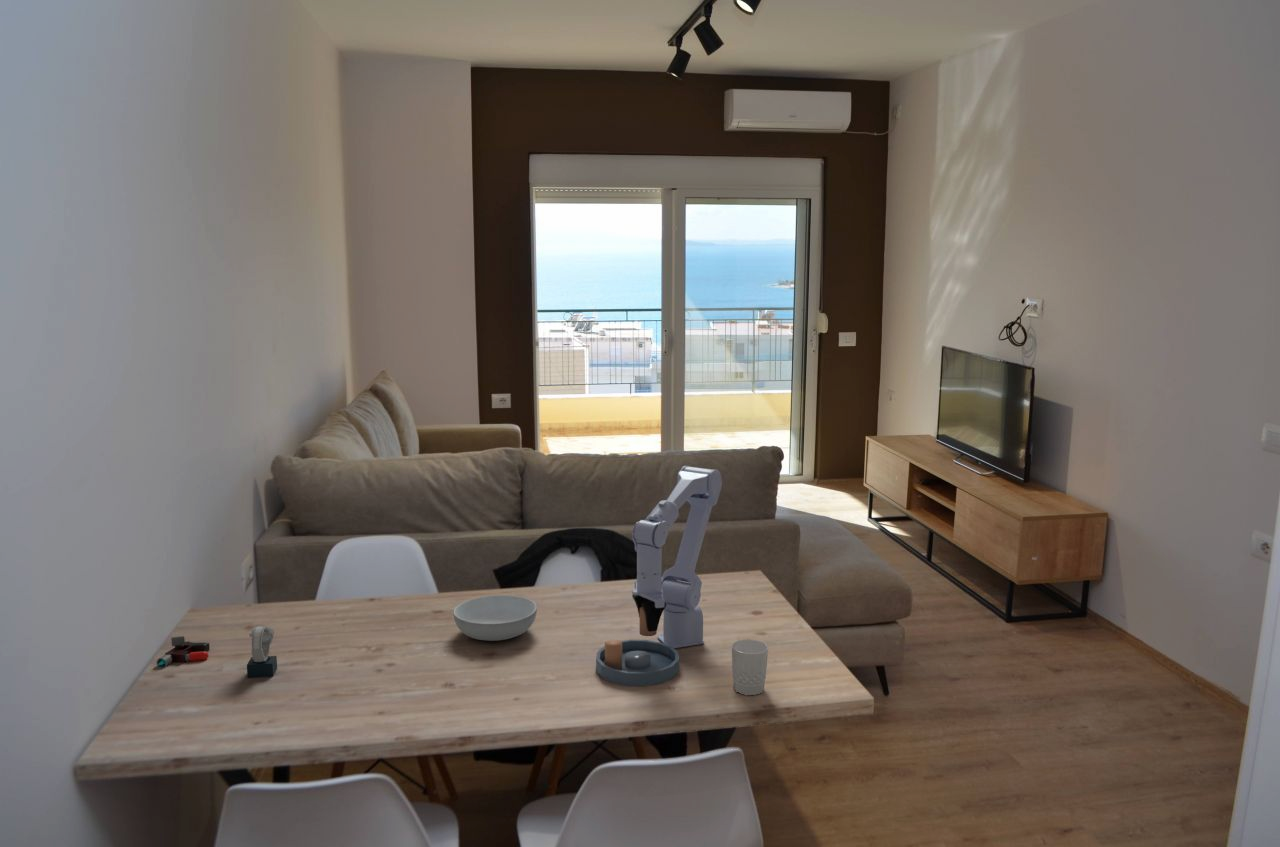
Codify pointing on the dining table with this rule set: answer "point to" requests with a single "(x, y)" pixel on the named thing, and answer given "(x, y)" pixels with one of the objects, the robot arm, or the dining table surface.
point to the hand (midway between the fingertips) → (648, 627)
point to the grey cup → (749, 666)
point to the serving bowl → (495, 617)
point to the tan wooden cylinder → (613, 654)
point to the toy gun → (184, 652)
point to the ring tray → (641, 663)
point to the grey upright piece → (261, 653)
